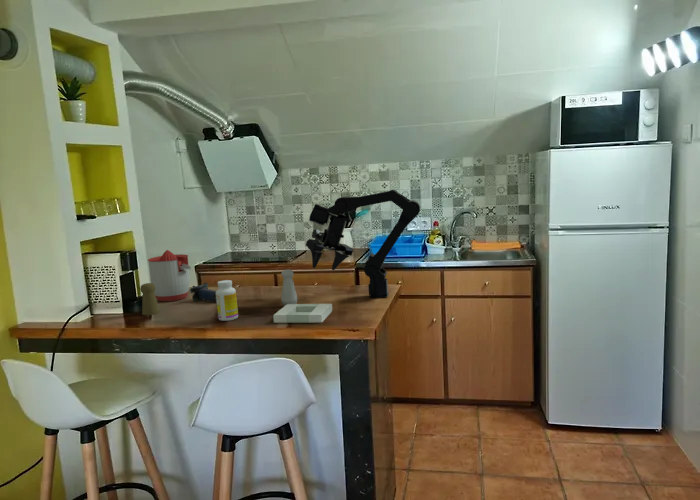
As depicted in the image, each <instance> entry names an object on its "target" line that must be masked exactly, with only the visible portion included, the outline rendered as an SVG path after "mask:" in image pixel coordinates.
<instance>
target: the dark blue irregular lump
mask: <svg viewBox="0 0 700 500" xmlns="http://www.w3.org/2000/svg"><path fill="white" fill-rule="evenodd" d="M216 291H217V290H214V289H209V282H207V281H206V282H204V283H203V284H199V285H192V286H191V288H189V292H190V293H191V294H192V295H191V296H192V301H193V303H196V302H200V301H206V302H210V303H211V302H212V303H215V304H217V301H216Z"/></svg>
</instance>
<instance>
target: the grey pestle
mask: <svg viewBox="0 0 700 500" xmlns="http://www.w3.org/2000/svg"><path fill="white" fill-rule="evenodd" d="M280 274H281V277H282V278H283V280H282V290H281V291H282V292H281V298H280V299H281V303H282V304H283V307H284V306H285V305H287V304H298V303H297V302H298V296H297V292H296V287H295V284H294V283H295V282H294V279H293V276H294V270H293V269H283V270H281V273H280Z"/></svg>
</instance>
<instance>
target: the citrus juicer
mask: <svg viewBox="0 0 700 500" xmlns="http://www.w3.org/2000/svg"><path fill="white" fill-rule="evenodd" d="M147 262H148V268H149V269H148V271H149V278H150V283H153V284H154V285H155V287H156V289H155V296H156V300H157V301H159V302H176V301H178V300H182V299H185V298H187V297H188V295H189V292H190V283H191V278H190V271H191V270H192V267H191V266H190V265H189V255H188V254H174V253H173V252H171V251H170V250H168V249H166V250H165V251H164V252H163V254H162V255H159V256H153V257H150V258H148V259H147Z"/></svg>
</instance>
